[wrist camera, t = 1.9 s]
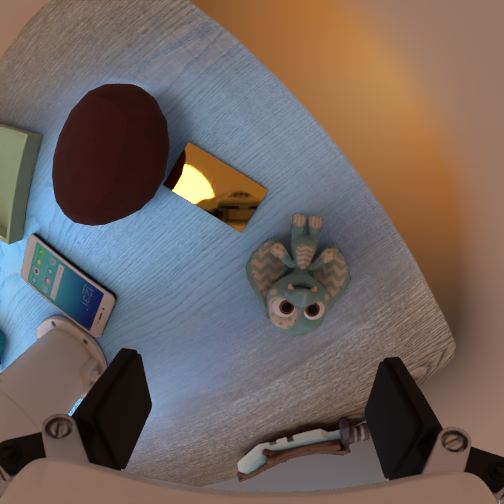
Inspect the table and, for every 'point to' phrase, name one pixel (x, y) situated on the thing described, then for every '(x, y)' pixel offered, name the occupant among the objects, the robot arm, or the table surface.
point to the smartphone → (67, 286)
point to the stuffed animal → (298, 278)
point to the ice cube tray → (1, 344)
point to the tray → (15, 178)
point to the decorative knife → (301, 447)
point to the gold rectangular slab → (215, 187)
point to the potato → (110, 155)
